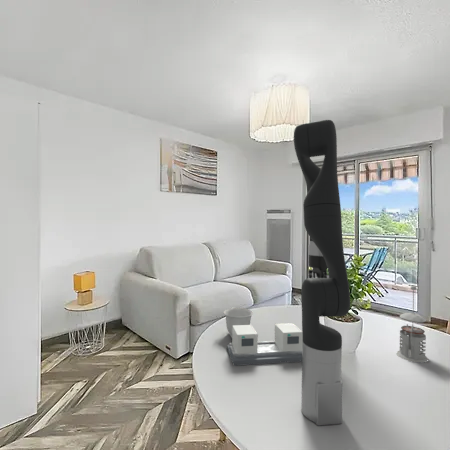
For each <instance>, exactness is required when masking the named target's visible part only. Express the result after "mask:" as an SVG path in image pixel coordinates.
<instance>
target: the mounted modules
mask: <svg viewBox="0 0 450 450" xmlns="http://www.w3.org/2000/svg"><path fill="white" fill-rule="evenodd" d="M258 336H259V334H258V332H257V331H256V329H255V328H254V326H253V324H250V325H233V326H232V337H231V339H232V340H231V341H232V342H231V343H232V344H233V348H234V350H235V352H236V353H237V354H246V353H257V347H258V342H259V341H258V339H259V337H258ZM274 341H275V344H276V345H277V346H278V348H279V349H280V350H281V351H302V341H303V333H302V330H301V329H300V328H299V327H298V326H297V325H295V324H294V323H293V322H292V323H291V322H290V323H288V322H287V323H286V322H285V323H275V324H274Z"/></svg>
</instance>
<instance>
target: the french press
mask: <svg viewBox="0 0 450 450" xmlns="http://www.w3.org/2000/svg"><path fill="white" fill-rule="evenodd" d="M410 290H412V311H415V310H414V308H415V307H414V302H415V298H414V297H415V291H417V286H415V285H412V286H410ZM399 318H400V319H401V320H404V321H405V322H410V323H412V325H409V324H408V323H407V324H406V325H402V326H401V327H400V329H401V330H399V349H398V351H396V352H397V353H396V356H398V357H399V358H400V359H403V360H405V361H408V362H411V361H413V362H412V363H417V362H425V361H427V360H429V358H428V357H427V355H426V349H425V348H426V347H427V345H426V344H427V343H426V341H427V337H426V334H425V330H424V329H422V328H421V327H417V326H415V325H414V323H417V324H419V323H425V322H427V318H425V317H424V316H423V315H420V314H419V313H414V312H404V313H401V314H400V315H399ZM425 363H426V362H425Z"/></svg>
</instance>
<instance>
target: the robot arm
mask: <svg viewBox="0 0 450 450" xmlns="http://www.w3.org/2000/svg"><path fill="white" fill-rule="evenodd" d="M337 140H338V139H337V129H336V125H335V123H334V122H333V120H331V119H325V120H317V121H312V122H311V121H310V122H305V123H302V124H298V125H296V126H295V128H294V130H293V145H294V151H295V155H296V158H297V161H298V164H299V166H300V167H299V168H300V169H301V170H300V171H301V172H302V175H303V177H304V180H305V185H306V191H307V194H306V195H305V198H304V200H303V223H304V228H305V230H306V233H307V234H308V236H309V244H308V267H309V268H312V269H308V277H307V278H305V279H304V280H303V282H302V285H301V288H300V289H301V292H300V297H301V298H300V299H301V301H300V302H301V329H302V330H301V331H302V333H303V341H302V361H301V407H300V408H301V410H300V411H301V413H302V414H303V416H304V417H306V418H307V419H308V420H309V421H311V422H313V423H314V424H315V425H316V426H327V425H328V426H329V425H336V424H337V425H338V424H343V422H342V421H343V417H342V416H343V383H342V357H343V356H342V352H343V351H342V348H343V347H342V346H343V337H342V334H341V333H340V332H339V331H338V330H337V329H335V328H333V327H330V326H327V325H325V324H322V323H321V321H320V317H345V316H346V315H348V313H349V312H350V307H351V290H350V284H349V278H348V272H347V271H348V270H347V267H346V260H345V253H344V240H343V225H342V224H343V223H342V220H343V219H342V211H341V210H342V208H341V199H340V198H341V197H340V191H339V189H340V188H339V182H338V181H339V180H338V149H337V147H338V145H337V142H338V141H337ZM321 156H324V158H323V162H322V166H321V167H320V166H319V165H317V164H316V163H315V162H314V161H313V160H312V159H311V158H314V157H321ZM327 271H328V272H327Z"/></svg>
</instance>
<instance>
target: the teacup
mask: <svg viewBox="0 0 450 450" xmlns="http://www.w3.org/2000/svg"><path fill="white" fill-rule="evenodd" d="M223 314H224V315H225V324H226V329H227V332H228V333H229V334H230V337H231V338H232V326H233V325H251V319H252V316H253V315H254V311H253V310H250V309H249V308H242V307H233V306H232V307H231V306H230V308H226V309H225V310H224V311H223Z"/></svg>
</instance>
